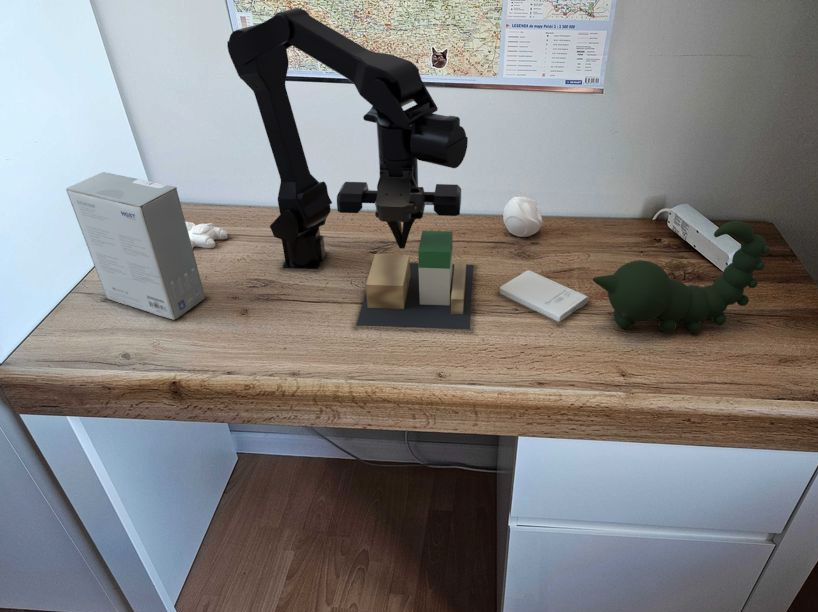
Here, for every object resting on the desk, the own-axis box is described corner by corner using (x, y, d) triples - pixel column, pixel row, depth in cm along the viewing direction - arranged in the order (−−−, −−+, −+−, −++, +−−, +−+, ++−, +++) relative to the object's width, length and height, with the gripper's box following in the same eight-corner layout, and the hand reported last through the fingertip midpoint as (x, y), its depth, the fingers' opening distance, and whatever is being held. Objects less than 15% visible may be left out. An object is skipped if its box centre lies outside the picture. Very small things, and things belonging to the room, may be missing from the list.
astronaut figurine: (204, 255, 124) (200, 240, 122) (154, 242, 128) (150, 228, 126) (234, 235, 130) (231, 220, 128) (186, 223, 134) (182, 209, 132)
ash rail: (450, 314, 108) (450, 298, 106) (454, 275, 118) (454, 260, 116) (463, 314, 108) (463, 299, 106) (466, 276, 118) (466, 261, 116)
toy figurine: (718, 313, 112) (574, 307, 109) (761, 209, 101) (601, 200, 98) (742, 346, 105) (588, 341, 102) (790, 239, 93) (618, 229, 91)
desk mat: (356, 327, 106) (356, 325, 106) (375, 263, 122) (374, 261, 122) (469, 331, 105) (469, 329, 105) (473, 266, 121) (473, 264, 121)
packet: (394, 292, 109) (424, 239, 103) (399, 270, 115) (428, 219, 109) (443, 315, 111) (475, 265, 105) (445, 292, 117) (477, 244, 111)
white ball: (542, 244, 128) (546, 207, 123) (503, 244, 128) (505, 206, 123) (538, 225, 134) (542, 189, 129) (501, 225, 134) (503, 188, 129)
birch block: (367, 307, 110) (365, 284, 107) (376, 276, 118) (374, 253, 115) (404, 309, 109) (402, 285, 107) (410, 277, 117) (409, 254, 114)
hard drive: (528, 277, 118) (587, 303, 112) (498, 295, 113) (558, 324, 107) (529, 269, 117) (588, 295, 111) (499, 287, 112) (559, 315, 106)
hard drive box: (208, 298, 112) (179, 187, 100) (175, 322, 107) (140, 207, 95) (138, 278, 118) (103, 169, 105) (104, 299, 112) (62, 187, 100)
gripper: (323, 173, 93) (335, 271, 102) (458, 177, 92) (457, 275, 101) (339, 144, 101) (348, 236, 111) (462, 147, 101) (460, 240, 110)
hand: (402, 247), depth 108 cm, fingers closed
